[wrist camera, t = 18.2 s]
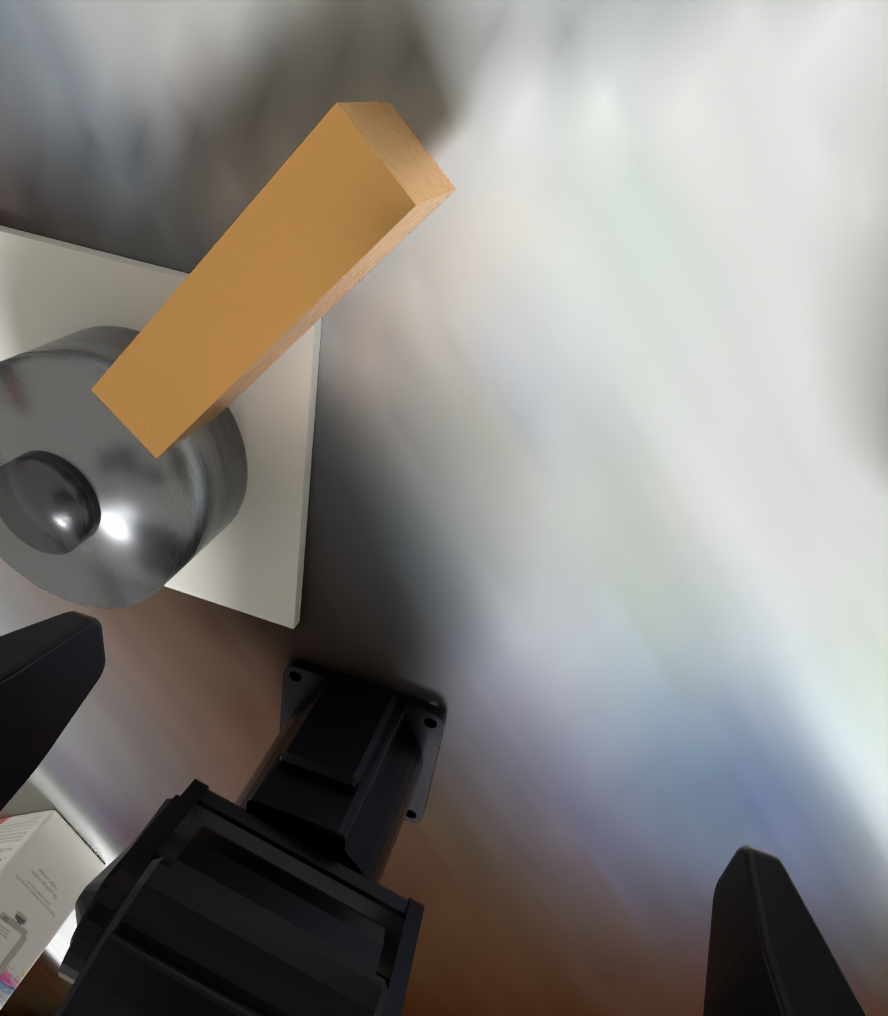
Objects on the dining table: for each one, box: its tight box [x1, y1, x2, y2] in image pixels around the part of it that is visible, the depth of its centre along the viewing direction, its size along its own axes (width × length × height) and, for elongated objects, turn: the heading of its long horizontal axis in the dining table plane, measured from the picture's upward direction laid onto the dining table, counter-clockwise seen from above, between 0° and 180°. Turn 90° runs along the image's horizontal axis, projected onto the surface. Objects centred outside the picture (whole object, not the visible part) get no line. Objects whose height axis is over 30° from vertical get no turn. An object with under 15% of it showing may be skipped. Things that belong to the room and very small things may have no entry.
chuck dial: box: [0, 101, 455, 609], centre depth 20 cm, size 18×8×5 cm, turn 131°
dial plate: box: [0, 225, 322, 629], centre depth 25 cm, size 12×12×1 cm
